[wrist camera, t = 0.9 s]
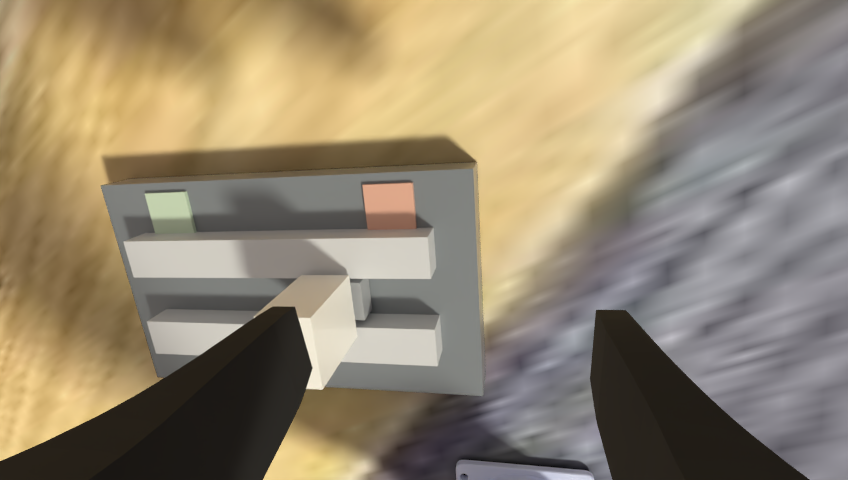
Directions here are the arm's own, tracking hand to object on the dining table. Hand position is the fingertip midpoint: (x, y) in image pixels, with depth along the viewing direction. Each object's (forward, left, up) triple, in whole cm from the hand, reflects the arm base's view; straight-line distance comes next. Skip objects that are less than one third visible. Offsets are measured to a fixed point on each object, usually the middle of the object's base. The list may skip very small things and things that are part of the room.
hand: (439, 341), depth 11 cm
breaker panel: (-4, +10, -13) cm, 17 cm away
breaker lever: (-4, +7, -11) cm, 13 cm away
